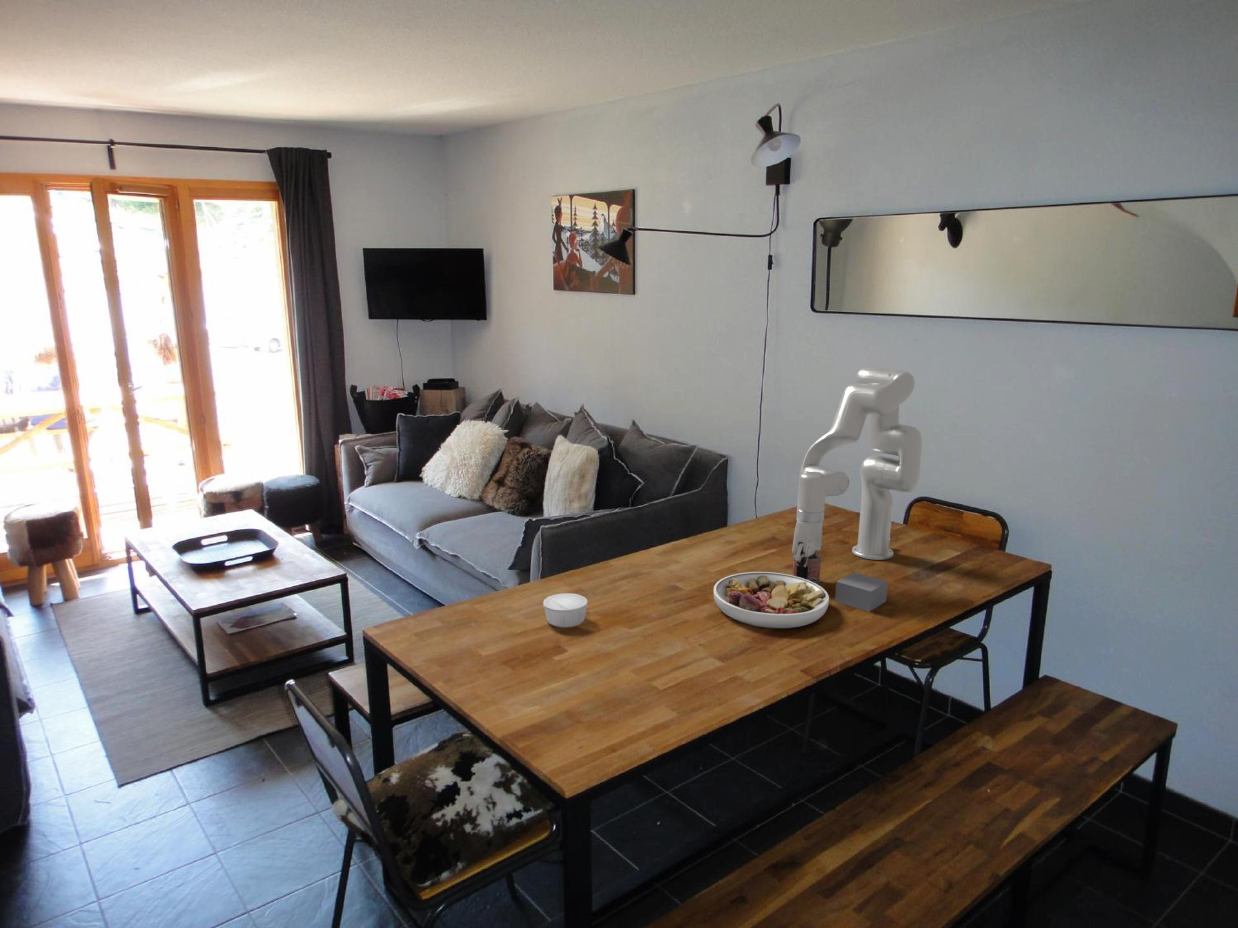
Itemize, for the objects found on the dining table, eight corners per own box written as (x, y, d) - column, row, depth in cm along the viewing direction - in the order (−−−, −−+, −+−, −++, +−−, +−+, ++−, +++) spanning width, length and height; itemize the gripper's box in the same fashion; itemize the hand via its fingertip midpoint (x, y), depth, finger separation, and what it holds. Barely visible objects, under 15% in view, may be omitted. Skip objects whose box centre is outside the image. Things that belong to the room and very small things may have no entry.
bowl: (745, 580, 244) (746, 554, 242) (844, 605, 227) (847, 577, 225) (692, 613, 220) (693, 585, 218) (799, 644, 203) (801, 614, 201)
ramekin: (535, 625, 211) (535, 605, 210) (555, 608, 221) (555, 590, 220) (576, 632, 207) (576, 612, 206) (594, 615, 217) (594, 596, 216)
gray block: (852, 592, 236) (853, 572, 234) (885, 602, 229) (887, 581, 228) (834, 602, 228) (836, 581, 227) (869, 612, 222) (871, 591, 220)
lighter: (819, 580, 243) (821, 547, 241) (820, 584, 240) (822, 551, 238) (791, 578, 244) (793, 545, 242) (791, 582, 241) (794, 549, 239)
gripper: (810, 506, 246) (806, 565, 251) (784, 519, 233) (780, 581, 238) (835, 511, 242) (830, 570, 246) (809, 524, 229) (805, 587, 233)
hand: (806, 575), depth 242 cm, fingers closed on lighter, 4 cm apart
